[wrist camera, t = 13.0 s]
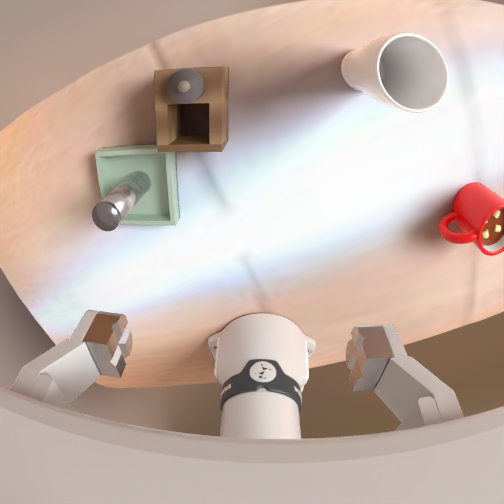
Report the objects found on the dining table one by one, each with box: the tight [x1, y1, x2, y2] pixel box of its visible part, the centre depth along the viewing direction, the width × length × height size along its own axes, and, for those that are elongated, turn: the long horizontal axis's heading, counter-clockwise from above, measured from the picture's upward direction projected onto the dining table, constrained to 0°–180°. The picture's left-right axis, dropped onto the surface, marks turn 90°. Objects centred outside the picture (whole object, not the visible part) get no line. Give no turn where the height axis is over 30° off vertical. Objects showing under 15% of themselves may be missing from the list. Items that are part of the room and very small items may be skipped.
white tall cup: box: [341, 33, 449, 113], centre depth 26 cm, size 7×7×15 cm
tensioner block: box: [154, 67, 229, 152], centre depth 32 cm, size 9×7×8 cm
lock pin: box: [92, 171, 151, 231], centre depth 36 cm, size 3×3×11 cm
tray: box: [95, 144, 180, 225], centre depth 40 cm, size 10×10×2 cm
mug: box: [438, 182, 504, 256], centre depth 37 cm, size 8×12×8 cm, turn 114°
